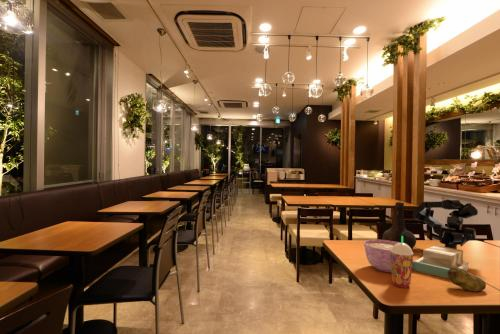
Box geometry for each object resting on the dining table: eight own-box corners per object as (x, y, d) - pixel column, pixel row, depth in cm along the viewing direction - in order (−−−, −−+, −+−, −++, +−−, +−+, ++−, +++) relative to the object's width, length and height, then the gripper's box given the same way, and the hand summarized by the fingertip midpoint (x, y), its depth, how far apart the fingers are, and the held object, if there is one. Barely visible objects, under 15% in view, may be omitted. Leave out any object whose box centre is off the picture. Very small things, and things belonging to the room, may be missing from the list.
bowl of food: (418, 276, 135) (419, 250, 135) (375, 276, 134) (375, 250, 133) (394, 262, 155) (395, 239, 155) (356, 262, 153) (356, 239, 153)
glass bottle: (396, 255, 167) (397, 204, 167) (375, 247, 185) (376, 200, 184) (423, 254, 171) (424, 204, 171) (400, 245, 189) (401, 200, 189)
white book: (426, 260, 160) (426, 252, 160) (468, 268, 147) (468, 260, 147) (411, 269, 144) (411, 261, 144) (456, 280, 131) (456, 271, 131)
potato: (487, 296, 115) (488, 275, 115) (447, 288, 122) (447, 268, 122) (485, 289, 122) (485, 269, 122) (446, 282, 129) (447, 263, 129)
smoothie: (385, 281, 128) (387, 233, 128) (404, 281, 129) (406, 233, 129) (397, 289, 120) (398, 238, 120) (417, 289, 121) (418, 238, 121)
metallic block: (435, 261, 159) (435, 245, 159) (462, 267, 150) (463, 250, 150) (423, 267, 149) (423, 250, 149) (451, 274, 139) (451, 256, 139)
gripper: (434, 208, 168) (427, 231, 160) (475, 213, 155) (470, 238, 147) (437, 221, 174) (431, 243, 166) (478, 226, 160) (473, 251, 153)
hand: (450, 244), depth 158 cm, fingers open, 9 cm apart
